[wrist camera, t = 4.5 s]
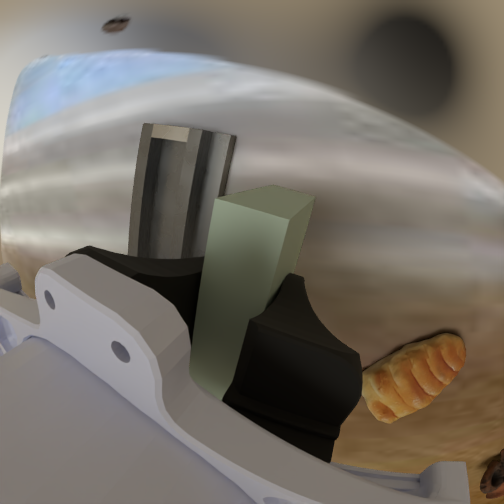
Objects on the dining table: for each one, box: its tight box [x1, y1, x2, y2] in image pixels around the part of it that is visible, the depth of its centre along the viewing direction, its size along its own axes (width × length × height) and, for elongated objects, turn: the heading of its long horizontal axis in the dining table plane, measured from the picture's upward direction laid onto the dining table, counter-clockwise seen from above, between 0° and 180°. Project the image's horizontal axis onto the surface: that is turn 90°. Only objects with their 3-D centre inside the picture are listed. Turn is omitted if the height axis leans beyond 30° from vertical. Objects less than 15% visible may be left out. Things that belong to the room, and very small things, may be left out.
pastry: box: [362, 333, 466, 423], centre depth 17 cm, size 9×7×4 cm
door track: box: [128, 123, 236, 356], centre depth 22 cm, size 20×8×2 cm, turn 167°
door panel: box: [189, 185, 316, 402], centre depth 11 cm, size 8×2×6 cm, turn 167°
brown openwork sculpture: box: [480, 450, 504, 499], centre depth 15 cm, size 12×10×8 cm
